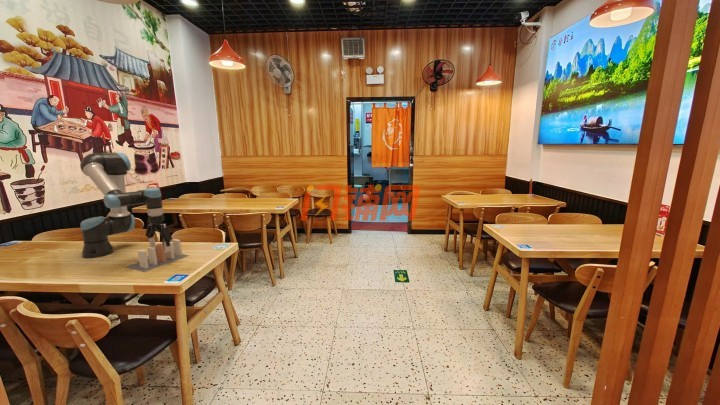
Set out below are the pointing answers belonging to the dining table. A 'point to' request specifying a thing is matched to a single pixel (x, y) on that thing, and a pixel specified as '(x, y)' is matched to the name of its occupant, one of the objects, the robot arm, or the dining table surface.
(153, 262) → the domino
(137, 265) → the mat
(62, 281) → the dining table surface
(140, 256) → the domino
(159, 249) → the domino
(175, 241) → the domino
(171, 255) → the domino
